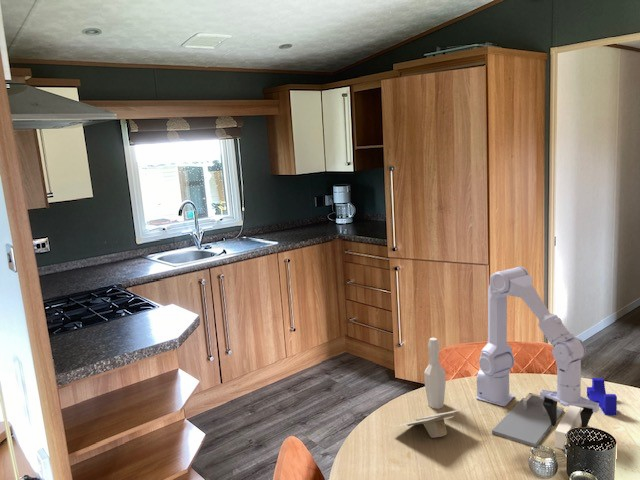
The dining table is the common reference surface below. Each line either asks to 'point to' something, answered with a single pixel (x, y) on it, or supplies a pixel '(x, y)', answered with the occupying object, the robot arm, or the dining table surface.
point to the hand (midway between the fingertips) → (568, 428)
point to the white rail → (567, 425)
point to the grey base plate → (526, 421)
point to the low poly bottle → (434, 377)
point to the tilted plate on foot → (433, 423)
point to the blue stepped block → (602, 397)
